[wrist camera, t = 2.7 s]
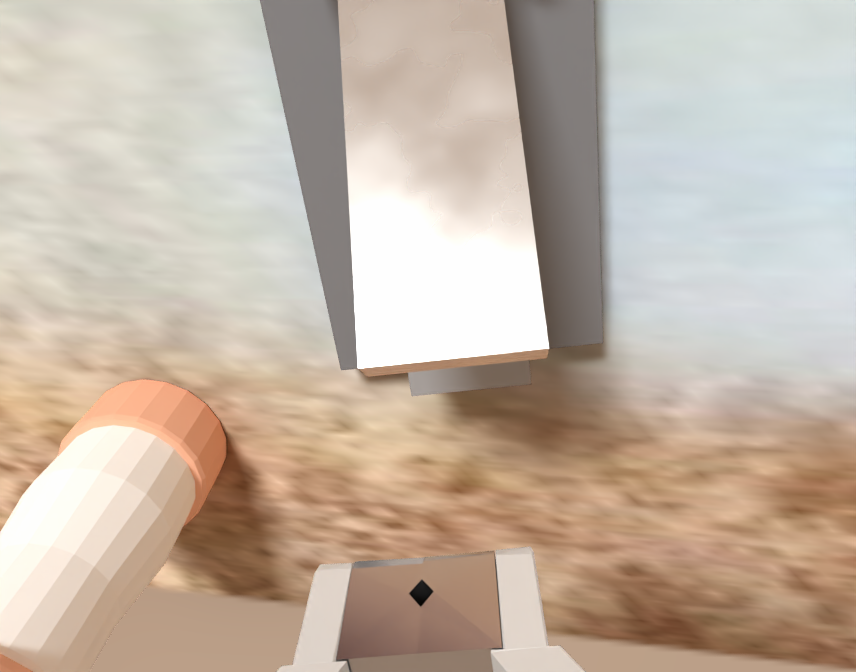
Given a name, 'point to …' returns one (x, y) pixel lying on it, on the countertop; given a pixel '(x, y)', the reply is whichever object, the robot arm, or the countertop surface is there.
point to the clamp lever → (437, 188)
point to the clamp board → (543, 150)
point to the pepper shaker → (102, 523)
